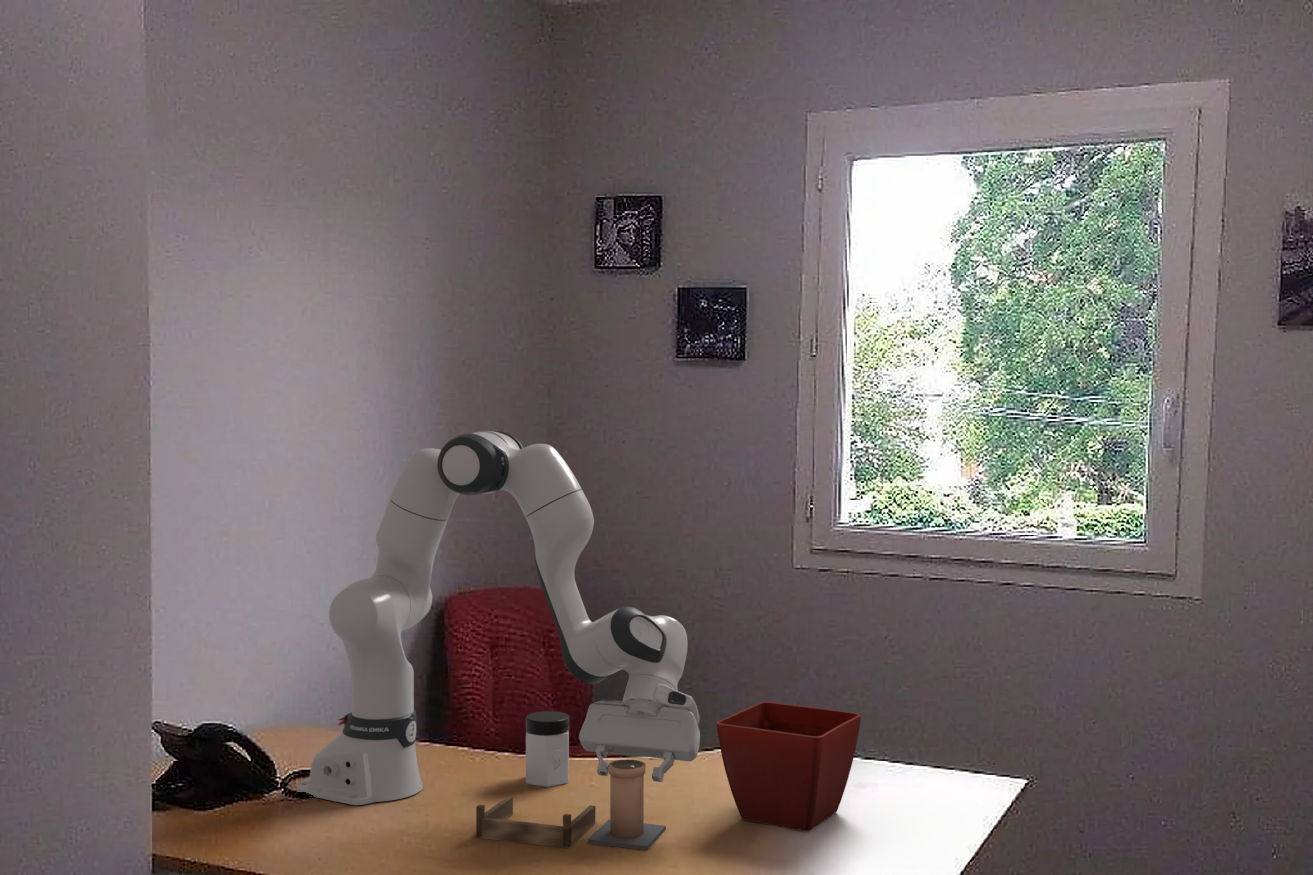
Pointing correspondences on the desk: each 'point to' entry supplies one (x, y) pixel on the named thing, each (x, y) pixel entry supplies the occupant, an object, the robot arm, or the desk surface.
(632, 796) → the pot
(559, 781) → the jar
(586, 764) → the desk surface
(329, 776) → the robot arm
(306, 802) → the desk surface
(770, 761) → the plant pot
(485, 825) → the low fence
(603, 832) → the mat
